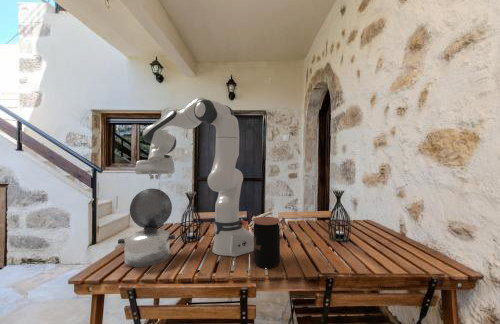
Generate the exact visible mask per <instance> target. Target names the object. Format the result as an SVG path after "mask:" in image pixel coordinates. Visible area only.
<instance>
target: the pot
mask: <svg viewBox="0 0 500 324" xmlns="http://www.w3.org/2000/svg"><path fill="white" fill-rule="evenodd" d="M175 239H176V234H170V232H169V231H167V230H165V229H156V230H144V229H143V230H140V231H135V232H131V233H129V234H127V235H125V236H124V238H119V239H118V240H117V245H121V244H122V245H123V244H124V264H125V265H127V266H129V267H133V268H134V267H135V268H137V267H138V268H139V267H140V268H141V267H142V268H143V266H144V267H150V266H154V265H157V264H158V265H159V264H160V262H161V263H163V262H165V261H166V260H168V259H169V258H170V240H171V241H172V240H175ZM162 261H163V262H162ZM149 265H150V266H149Z"/></svg>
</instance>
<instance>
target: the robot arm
mask: <svg viewBox="0 0 500 324" xmlns="http://www.w3.org/2000/svg"><path fill="white" fill-rule="evenodd" d="M202 123H203V124H207V125H213V126H214V128H215V152H214V159H213V164H212V167H211V171H210V173H209V174H208V176H207V186H208V187H209V188H210V189H211V191H213V192H216V193H218V195H217V197H216V198H217V199H216V201H215V205H214V206H215V207H214V211H215V212H214V213H215V214H214V215H215V216H214V217H215V219H214V224H213V226H214V229H213V230H214V241H213V246H212V249H211V251H212V253H213V254H216V255H218V256H226V257H227V256H228V257H238V256H241V255H245V254H248V253H252V252H254V234H252V233H251V232H250V231H249V230H248V229H246V228H244V227H243V226H246V225H247V221H245V220H243V219H242V220H241V219H240V218H239V217H240V216H239V213H240V197H241V193H242V192H241V191H242V184H243V181H244V174H243V173H242V171H241V170H240V169H238V168H236V164H237V160H238V158H239V156H240V129H239V128H240V127H239V126H240V125H239V120H238V118H237V117H236V116H235V113H234V110H233V109H232V107H230V106H228V105H226V104H223V103H221V102H218V101H215V100H210V99H207V98H205V97H202V96H201V97H197V98H195V99H193V100H192V101H191V102H190V103H188V104H187V105H186V106H185V107H183V108H182V109H180V110H172V111H170V112H168V113H167V114H165V115H164V116H162V117H161V118H159V119H158V120H156V121H155V122H153V123H151V124H149V125H147V126H146V127H145V128H144V129H143V132H142V138H143V140H144V142H145V143H148V144H150V146H149V153H148V158H147V159H140V160H136V163H135V167H134V172H135V174H136V175H148V176H149V180H154V178H155V180H159V179H160V177H161V176H162V175H164V174H165V175H166V174H168V175H169V174H171V175H172V174H174V173H175V172H176V171H175V168H176V167H175V162H174V159H173V156H172V155H168V154H169V153H172V152H173V151H174V150H176V149H175V148H176V146H177V138H176V136H175V135H172V134H171V133H169V132H167V131H165V130H164V129H166V128H167V127H169V126H175V127H179V128H182V129H186V130H192V129H195V128H196V127H197V128H198V126H200V124H202ZM154 175H155V177H154Z"/></svg>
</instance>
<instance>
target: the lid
mask: <svg viewBox="0 0 500 324" xmlns="http://www.w3.org/2000/svg"><path fill="white" fill-rule="evenodd" d="M172 210H173V205H172V200H171V197H169V194H167V193H165V192H164V191H163V190H161V189H157V188H146V189H143V190H141V191H139V192H138V193H137V194H136V195H135V196H134V197H133V198H132V200H131V201H130V206H129V215H130V217H131V219H132V222H134V223H135V224H136V225H137V226H139V227H140V228H143V231H144V230H159V229H158V228H159V227H160V226H162V225H164V224H165V223H166V222H168V220H169V219H170V216H171V214H172Z"/></svg>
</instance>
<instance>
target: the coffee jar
mask: <svg viewBox="0 0 500 324" xmlns="http://www.w3.org/2000/svg"><path fill="white" fill-rule="evenodd" d="M253 223H254V224H253V237H254V251H253V262H254V264H255V265H256V266H257V267H259V268H262V269H273V268H272V267H274V268H276V267H277V265H278V266H279V264H280V262H281V240H280V239H281V235H280V233H281V230H280V219H279V218H278V217H274V216H258V217H255V218H254V219H253ZM275 266H276V267H275Z"/></svg>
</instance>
